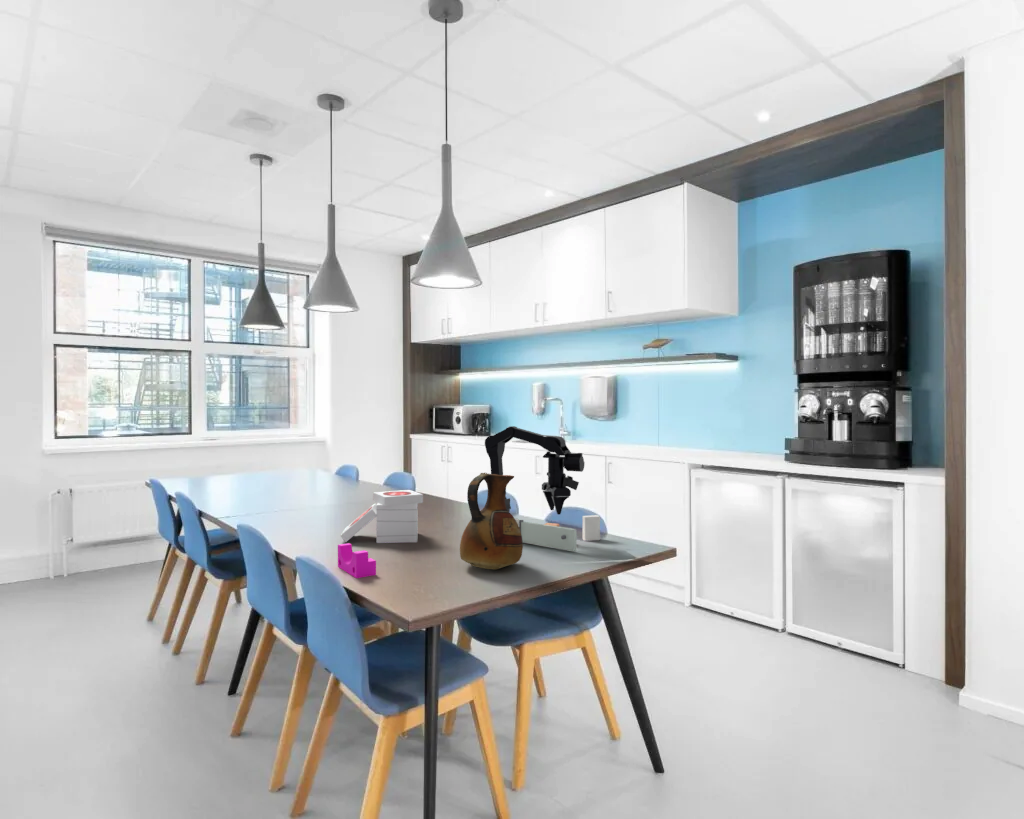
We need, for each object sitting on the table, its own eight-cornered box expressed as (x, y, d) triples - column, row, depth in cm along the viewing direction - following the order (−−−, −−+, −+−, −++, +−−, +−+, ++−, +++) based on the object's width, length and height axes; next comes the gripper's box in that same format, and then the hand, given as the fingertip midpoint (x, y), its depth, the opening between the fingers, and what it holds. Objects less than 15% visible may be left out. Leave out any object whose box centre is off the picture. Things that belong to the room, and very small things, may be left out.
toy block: (376, 575, 187) (375, 550, 187) (356, 578, 183) (356, 553, 183) (356, 565, 199) (356, 542, 199) (337, 568, 195) (337, 544, 195)
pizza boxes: (345, 536, 242) (345, 490, 242) (423, 534, 246) (423, 489, 246) (339, 547, 223) (339, 498, 223) (422, 545, 227) (422, 496, 227)
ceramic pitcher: (535, 566, 196) (535, 472, 196) (488, 578, 182) (488, 477, 182) (493, 555, 210) (493, 468, 210) (447, 566, 196) (447, 472, 196)
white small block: (514, 544, 228) (514, 519, 228) (513, 542, 231) (513, 518, 231) (600, 540, 235) (600, 516, 235) (597, 538, 238) (597, 515, 238)
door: (516, 542, 229) (516, 520, 229) (521, 541, 231) (520, 519, 231) (572, 552, 214) (572, 528, 214) (576, 550, 216) (576, 527, 216)
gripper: (584, 472, 221) (584, 516, 221) (569, 467, 240) (568, 507, 240) (554, 473, 219) (554, 517, 219) (541, 467, 237) (541, 508, 237)
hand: (555, 512), depth 229 cm, fingers open, 9 cm apart
